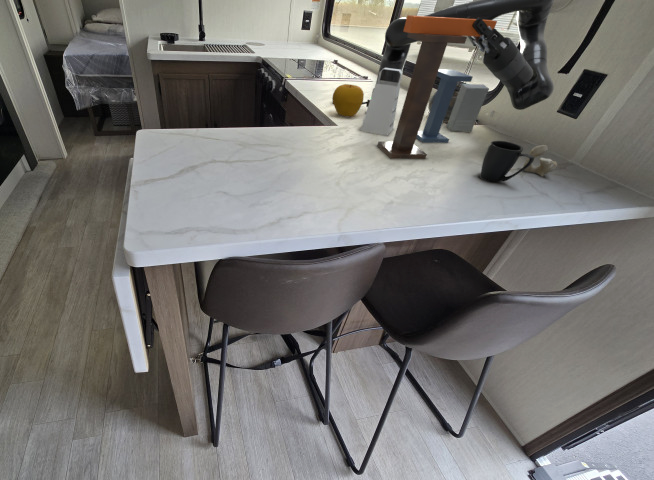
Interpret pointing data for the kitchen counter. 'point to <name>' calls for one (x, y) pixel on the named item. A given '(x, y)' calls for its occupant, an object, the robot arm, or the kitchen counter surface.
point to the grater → (382, 107)
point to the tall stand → (418, 95)
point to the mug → (502, 161)
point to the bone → (545, 163)
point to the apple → (347, 99)
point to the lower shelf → (441, 105)
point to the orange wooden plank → (443, 25)
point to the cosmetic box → (467, 107)
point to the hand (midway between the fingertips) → (471, 20)
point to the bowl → (449, 104)
